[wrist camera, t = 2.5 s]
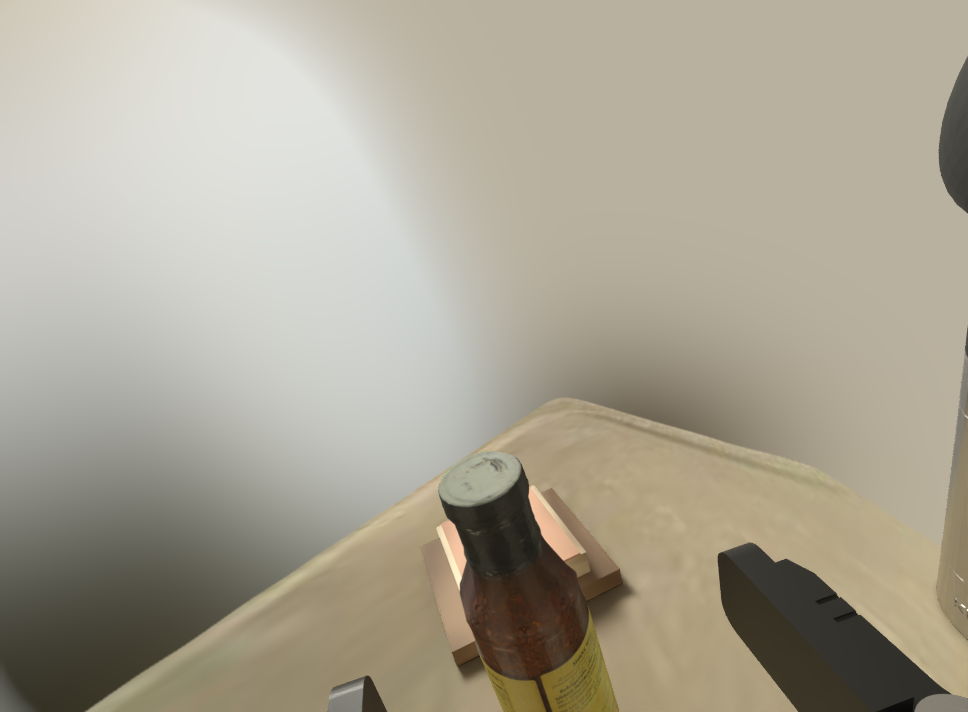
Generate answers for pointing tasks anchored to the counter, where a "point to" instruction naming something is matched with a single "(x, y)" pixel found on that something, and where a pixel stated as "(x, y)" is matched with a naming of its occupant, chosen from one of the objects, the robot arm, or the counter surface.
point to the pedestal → (557, 531)
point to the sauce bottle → (522, 594)
